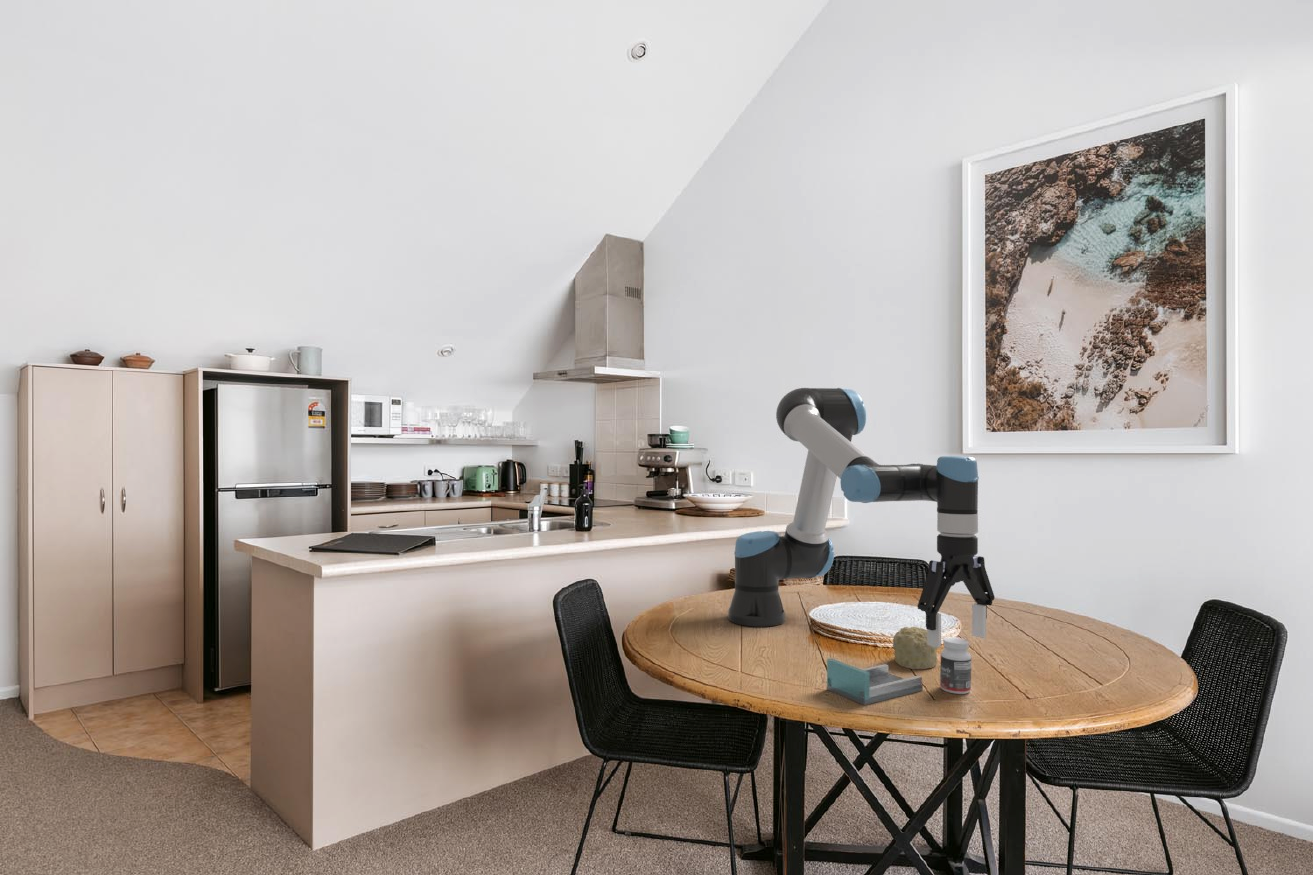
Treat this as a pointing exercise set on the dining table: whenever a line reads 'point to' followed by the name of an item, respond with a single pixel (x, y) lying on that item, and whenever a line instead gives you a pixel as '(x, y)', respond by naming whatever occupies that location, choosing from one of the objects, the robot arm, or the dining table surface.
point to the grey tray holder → (868, 683)
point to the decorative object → (914, 649)
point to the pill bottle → (955, 666)
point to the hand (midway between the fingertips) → (957, 641)
